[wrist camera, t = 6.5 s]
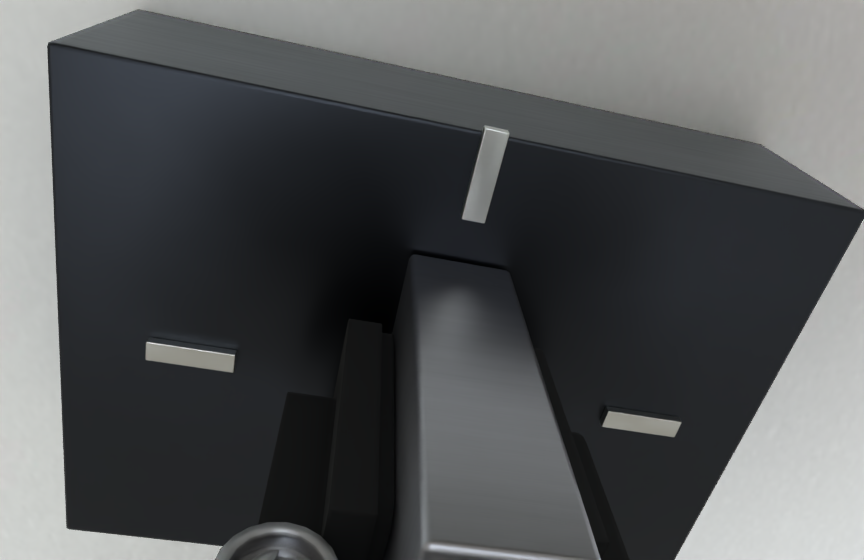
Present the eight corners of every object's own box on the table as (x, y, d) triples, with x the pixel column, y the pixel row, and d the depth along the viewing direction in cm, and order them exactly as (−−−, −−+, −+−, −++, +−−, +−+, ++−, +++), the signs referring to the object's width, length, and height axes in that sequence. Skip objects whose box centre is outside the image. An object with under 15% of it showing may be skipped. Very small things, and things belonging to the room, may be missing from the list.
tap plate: (763, 139, 13) (879, 209, 10) (609, 479, 18) (657, 605, 14) (136, 1, 12) (38, 36, 9) (129, 414, 16) (61, 541, 13)
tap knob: (410, 251, 10) (423, 572, 5) (511, 269, 11) (616, 592, 6) (355, 489, 13) (330, 873, 8) (440, 499, 13) (468, 879, 8)
